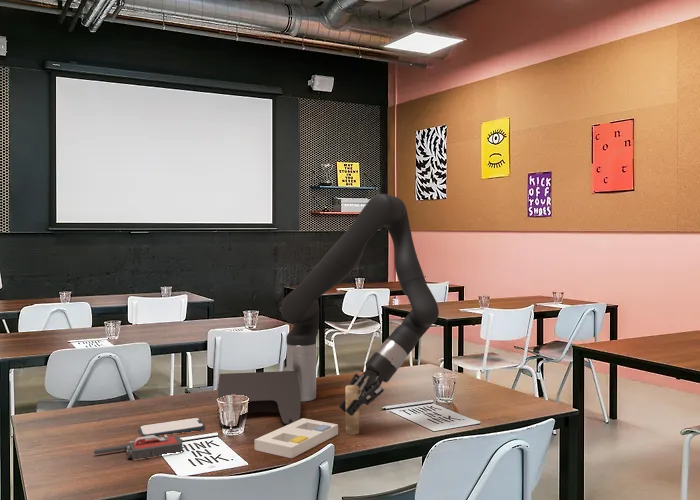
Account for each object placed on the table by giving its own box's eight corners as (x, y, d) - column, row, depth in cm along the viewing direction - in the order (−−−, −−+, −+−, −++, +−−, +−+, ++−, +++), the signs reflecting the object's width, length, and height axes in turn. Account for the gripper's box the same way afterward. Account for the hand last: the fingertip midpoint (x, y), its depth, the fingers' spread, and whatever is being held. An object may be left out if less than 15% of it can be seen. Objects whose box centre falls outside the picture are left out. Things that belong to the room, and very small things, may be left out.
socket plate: (291, 458, 143) (291, 445, 143) (254, 449, 149) (254, 437, 149) (338, 434, 160) (338, 423, 160) (302, 427, 166) (302, 416, 166)
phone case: (142, 441, 157) (205, 432, 163) (141, 435, 157) (205, 425, 163) (138, 431, 165) (199, 422, 171) (138, 425, 165) (199, 417, 171)
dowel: (343, 433, 161) (342, 387, 160) (350, 429, 164) (349, 384, 164) (354, 435, 159) (354, 388, 159) (361, 431, 162) (361, 386, 162)
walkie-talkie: (180, 443, 155) (93, 456, 146) (180, 425, 155) (93, 437, 146) (188, 454, 147) (96, 469, 138) (187, 435, 147) (96, 449, 138)
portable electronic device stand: (217, 450, 166) (216, 424, 162) (219, 392, 186) (218, 367, 182) (303, 444, 170) (304, 419, 166) (296, 388, 190) (297, 364, 186)
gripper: (365, 346, 170) (324, 396, 166) (390, 355, 158) (347, 409, 153) (382, 364, 173) (343, 413, 168) (408, 374, 160) (366, 428, 155)
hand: (345, 411), depth 160 cm, fingers closed on dowel, 3 cm apart
